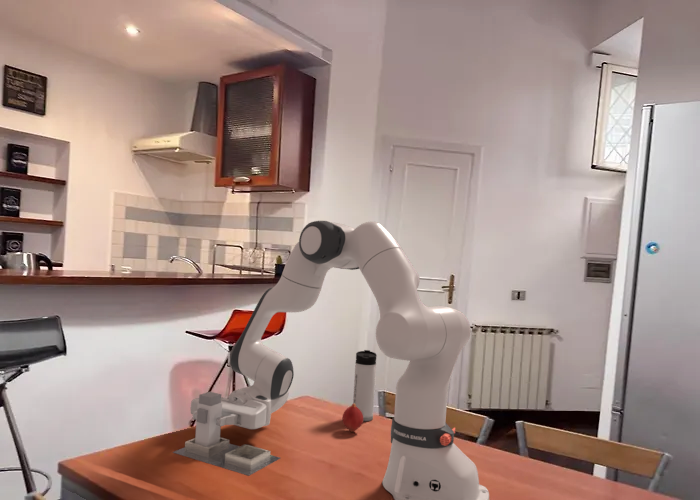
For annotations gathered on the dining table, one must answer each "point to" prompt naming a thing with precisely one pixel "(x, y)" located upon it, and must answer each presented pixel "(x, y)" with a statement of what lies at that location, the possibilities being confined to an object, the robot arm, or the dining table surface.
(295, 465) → the dining table surface
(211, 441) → the plug
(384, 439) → the dining table surface
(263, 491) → the dining table surface
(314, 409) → the dining table surface
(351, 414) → the onion
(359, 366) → the travel mug
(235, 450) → the panel
